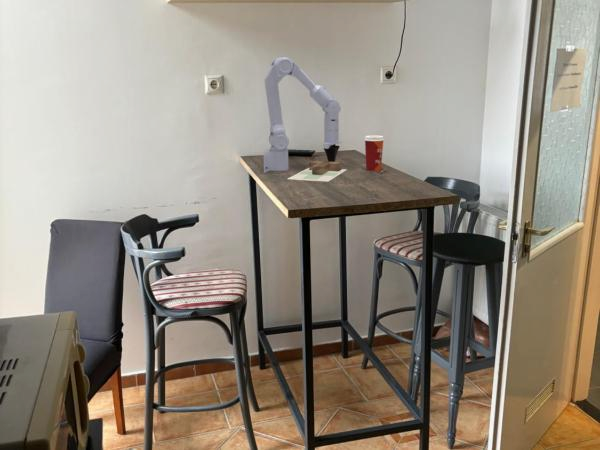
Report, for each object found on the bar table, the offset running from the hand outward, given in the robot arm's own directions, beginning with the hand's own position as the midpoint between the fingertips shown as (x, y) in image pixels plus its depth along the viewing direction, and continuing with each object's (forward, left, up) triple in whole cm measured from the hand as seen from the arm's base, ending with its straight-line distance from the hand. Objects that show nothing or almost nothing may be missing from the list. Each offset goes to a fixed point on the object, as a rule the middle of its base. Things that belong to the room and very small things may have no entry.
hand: (331, 163), depth 241 cm
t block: (0, -12, -1) cm, 12 cm away
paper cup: (+18, -2, -2) cm, 18 cm away
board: (0, -17, -2) cm, 17 cm away
